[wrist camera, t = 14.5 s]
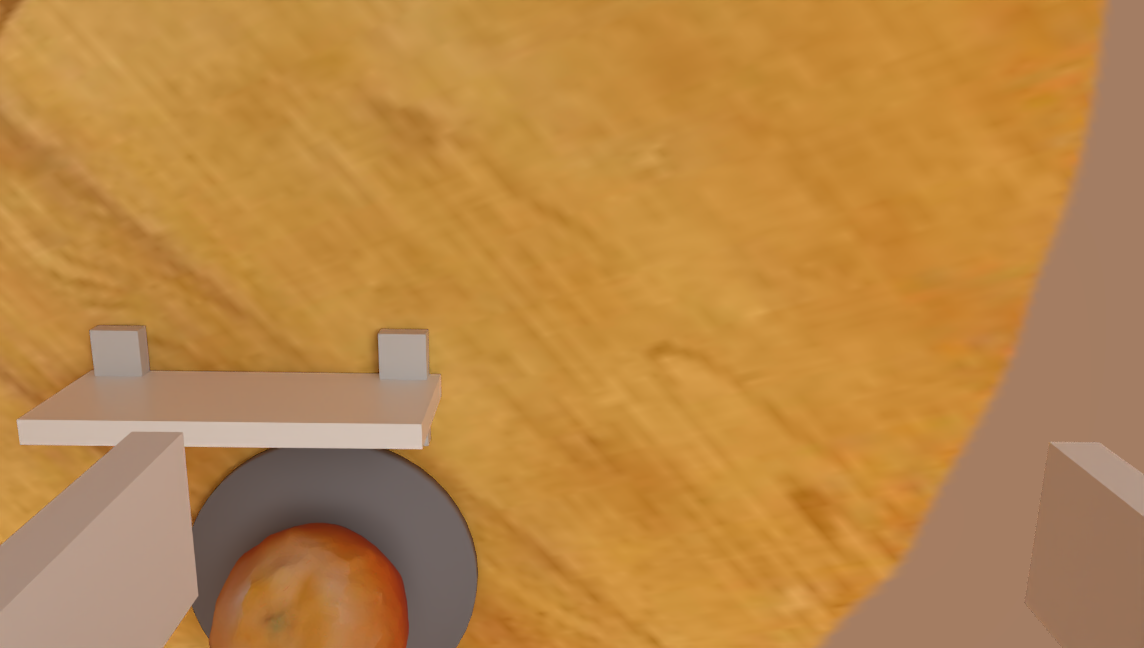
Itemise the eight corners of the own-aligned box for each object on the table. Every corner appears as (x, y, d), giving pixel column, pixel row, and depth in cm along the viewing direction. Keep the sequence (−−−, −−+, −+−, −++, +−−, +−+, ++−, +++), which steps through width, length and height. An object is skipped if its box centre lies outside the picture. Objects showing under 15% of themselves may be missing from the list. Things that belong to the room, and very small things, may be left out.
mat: (179, 436, 43) (172, 442, 42) (476, 439, 43) (474, 446, 42) (204, 692, 46) (198, 703, 46) (479, 695, 47) (477, 706, 46)
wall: (86, 324, 42) (9, 368, 36) (440, 329, 42) (420, 373, 36) (99, 435, 43) (27, 493, 37) (442, 439, 43) (423, 498, 37)
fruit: (315, 733, 44) (215, 770, 37) (264, 568, 47) (159, 571, 39) (473, 662, 43) (403, 686, 36) (412, 497, 46) (335, 487, 38)
